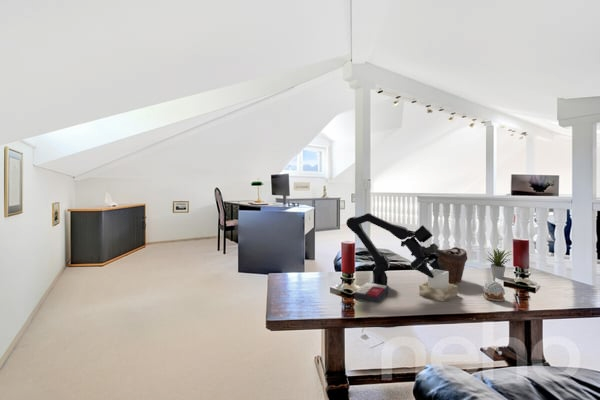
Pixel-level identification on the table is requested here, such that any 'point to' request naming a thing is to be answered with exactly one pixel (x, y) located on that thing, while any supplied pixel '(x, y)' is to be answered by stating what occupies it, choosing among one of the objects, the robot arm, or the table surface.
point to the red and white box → (371, 292)
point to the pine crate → (438, 292)
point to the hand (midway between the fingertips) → (437, 275)
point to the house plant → (498, 263)
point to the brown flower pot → (453, 263)
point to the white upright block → (439, 280)
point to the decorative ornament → (494, 289)
